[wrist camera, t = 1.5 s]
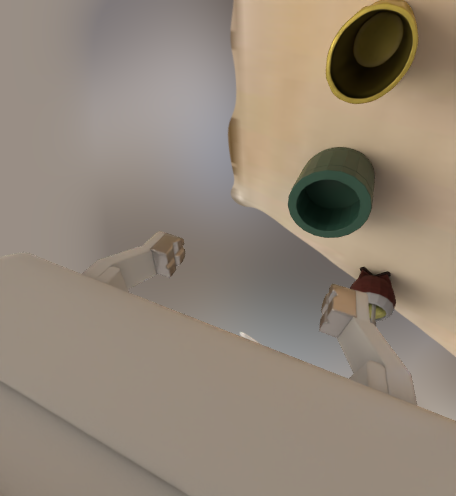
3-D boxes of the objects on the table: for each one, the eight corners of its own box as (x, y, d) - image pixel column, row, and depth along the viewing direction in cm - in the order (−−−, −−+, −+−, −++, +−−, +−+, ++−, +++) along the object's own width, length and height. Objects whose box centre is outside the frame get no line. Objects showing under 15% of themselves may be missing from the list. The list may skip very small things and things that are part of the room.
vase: (351, 5, 23) (326, 2, 14) (426, -9, 21) (451, -24, 12) (339, 78, 27) (313, 112, 19) (401, 74, 25) (405, 110, 16)
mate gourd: (366, 293, 47) (360, 364, 38) (340, 269, 46) (327, 335, 37) (407, 283, 41) (410, 363, 32) (378, 254, 40) (373, 329, 31)
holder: (305, 144, 34) (291, 166, 29) (385, 149, 30) (384, 175, 25) (298, 204, 41) (285, 229, 36) (362, 214, 37) (358, 244, 32)
